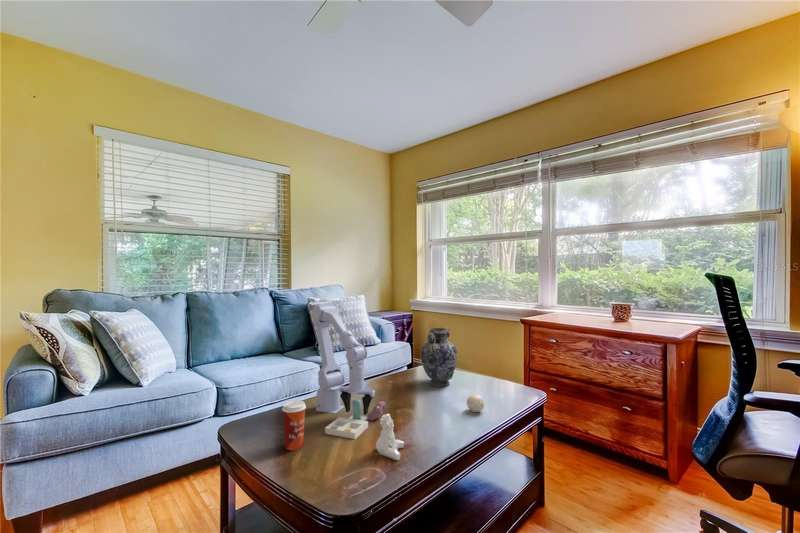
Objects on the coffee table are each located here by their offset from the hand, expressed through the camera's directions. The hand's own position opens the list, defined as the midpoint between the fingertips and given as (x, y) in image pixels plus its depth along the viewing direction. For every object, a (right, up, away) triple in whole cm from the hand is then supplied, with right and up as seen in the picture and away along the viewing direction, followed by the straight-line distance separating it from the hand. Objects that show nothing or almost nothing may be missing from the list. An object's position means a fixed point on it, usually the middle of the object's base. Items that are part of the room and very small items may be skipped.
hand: (356, 412), depth 136 cm
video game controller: (+8, -3, +3) cm, 9 cm away
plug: (0, -3, 0) cm, 3 cm away
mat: (0, -3, 0) cm, 3 cm away
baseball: (+48, -3, +7) cm, 48 cm away
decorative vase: (+37, -4, +44) cm, 57 cm away
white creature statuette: (+13, -3, -24) cm, 28 cm away
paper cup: (-18, -3, -20) cm, 27 cm away
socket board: (-2, -3, -9) cm, 10 cm away
